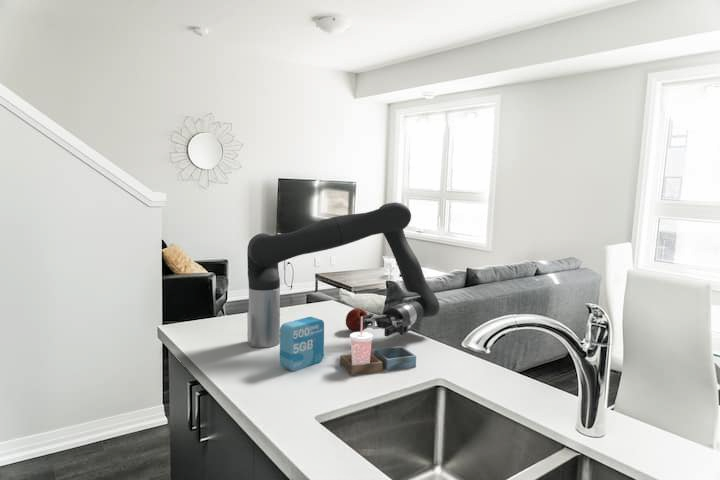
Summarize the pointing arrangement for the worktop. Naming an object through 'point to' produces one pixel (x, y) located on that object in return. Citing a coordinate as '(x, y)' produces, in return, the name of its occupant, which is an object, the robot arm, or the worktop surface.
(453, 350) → the worktop surface
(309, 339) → the data package
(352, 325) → the apple
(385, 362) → the cup dock
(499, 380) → the worktop surface
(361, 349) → the beverage cup
